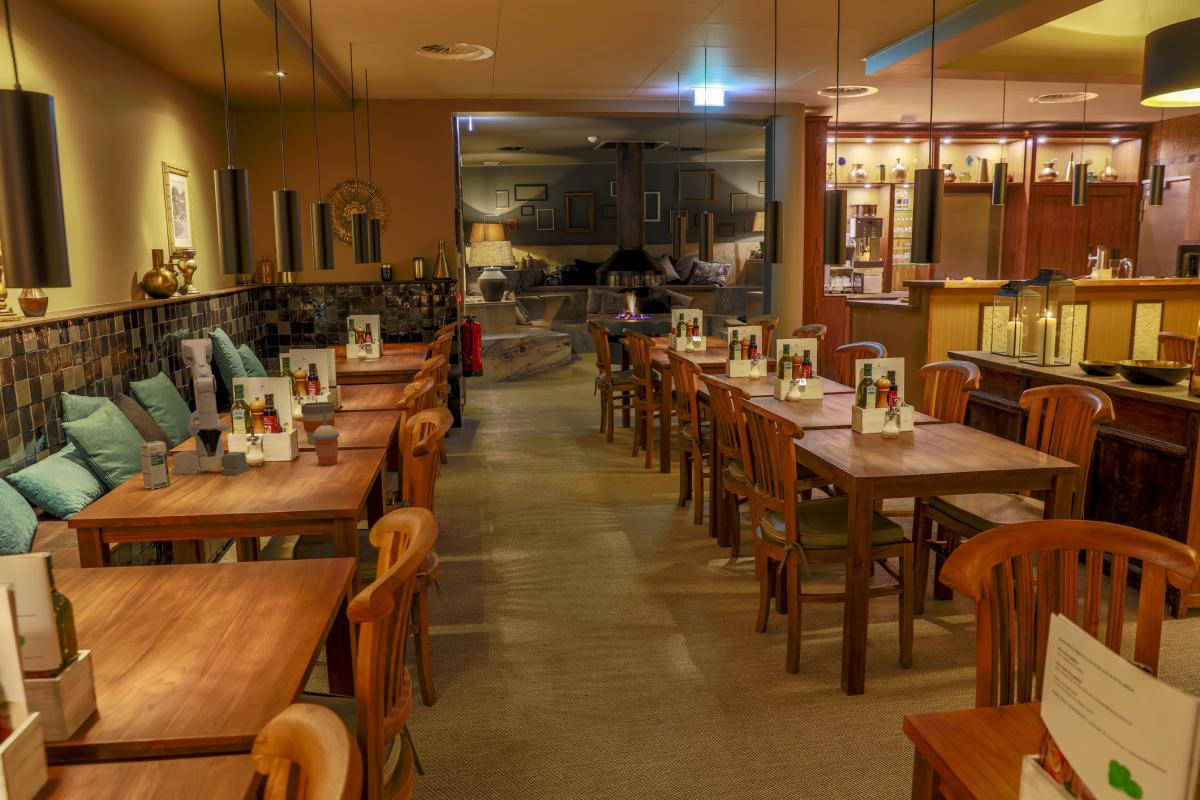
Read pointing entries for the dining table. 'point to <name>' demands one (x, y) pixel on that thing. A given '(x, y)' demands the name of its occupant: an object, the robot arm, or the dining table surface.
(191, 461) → the beige stepped block
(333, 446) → the cup with straw
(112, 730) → the dining table surface
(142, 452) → the syrup box
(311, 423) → the reusable coffee cup
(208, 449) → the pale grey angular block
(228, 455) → the slate stepped block
